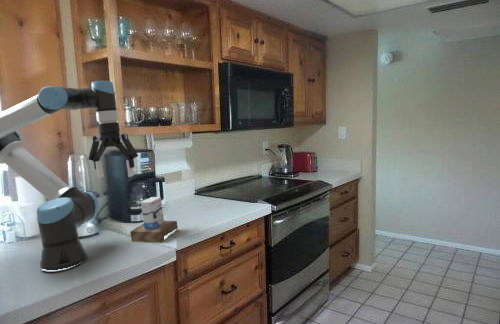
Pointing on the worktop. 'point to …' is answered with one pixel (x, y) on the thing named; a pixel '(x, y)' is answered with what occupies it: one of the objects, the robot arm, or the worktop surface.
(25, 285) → the worktop surface
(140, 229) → the walnut block
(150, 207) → the ink box
